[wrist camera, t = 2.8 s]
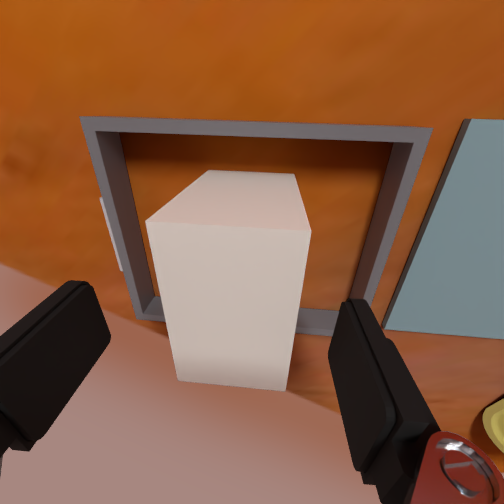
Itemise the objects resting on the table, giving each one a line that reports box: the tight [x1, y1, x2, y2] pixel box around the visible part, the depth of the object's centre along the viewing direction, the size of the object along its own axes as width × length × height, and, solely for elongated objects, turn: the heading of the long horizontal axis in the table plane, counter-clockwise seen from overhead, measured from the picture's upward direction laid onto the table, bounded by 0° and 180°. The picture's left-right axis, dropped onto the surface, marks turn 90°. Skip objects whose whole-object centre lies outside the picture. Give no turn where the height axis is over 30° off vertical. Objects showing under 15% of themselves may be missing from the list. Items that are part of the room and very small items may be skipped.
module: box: [145, 170, 311, 392], centre depth 13 cm, size 5×8×8 cm, turn 178°
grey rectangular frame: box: [79, 116, 433, 336], centre depth 15 cm, size 17×13×2 cm
